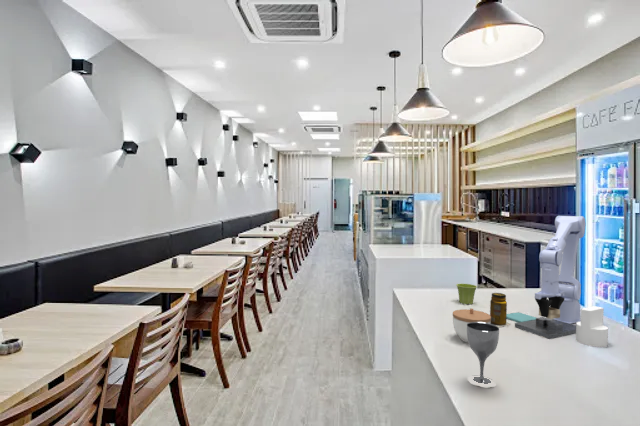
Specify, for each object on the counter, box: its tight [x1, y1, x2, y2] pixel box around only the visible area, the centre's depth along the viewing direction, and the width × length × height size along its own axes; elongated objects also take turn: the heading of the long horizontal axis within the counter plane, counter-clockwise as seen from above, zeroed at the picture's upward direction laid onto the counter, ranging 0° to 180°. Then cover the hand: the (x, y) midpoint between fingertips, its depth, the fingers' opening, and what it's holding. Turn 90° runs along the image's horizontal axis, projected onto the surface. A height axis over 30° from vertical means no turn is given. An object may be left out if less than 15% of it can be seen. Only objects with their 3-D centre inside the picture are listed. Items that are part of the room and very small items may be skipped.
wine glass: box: [467, 322, 500, 384], centre depth 99 cm, size 8×8×15 cm
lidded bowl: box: [452, 308, 491, 343], centre depth 131 cm, size 13×13×11 cm
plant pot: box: [455, 283, 478, 305], centre depth 182 cm, size 9×9×9 cm
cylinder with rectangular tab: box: [575, 305, 609, 348], centre depth 130 cm, size 9×9×12 cm
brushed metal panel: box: [514, 316, 576, 340], centre depth 143 cm, size 20×14×6 cm
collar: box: [538, 307, 560, 319], centre depth 143 cm, size 5×5×3 cm
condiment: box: [489, 292, 511, 328], centre depth 150 cm, size 7×8×12 cm
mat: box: [506, 311, 537, 323], centre depth 157 cm, size 11×10×1 cm
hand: (549, 315), depth 143 cm, fingers closed on collar, 5 cm apart
